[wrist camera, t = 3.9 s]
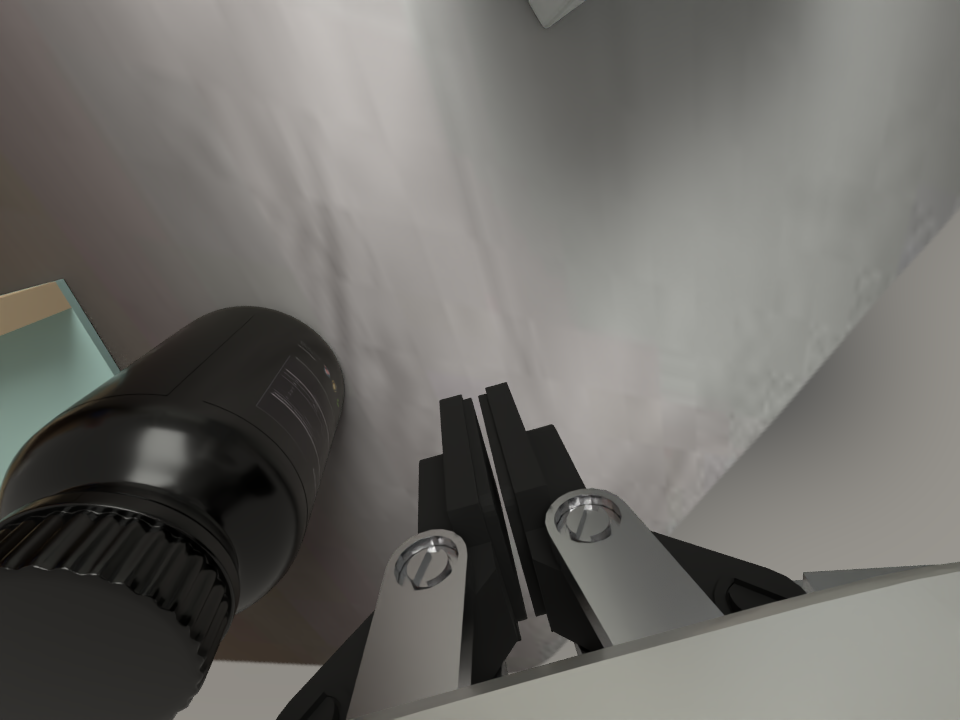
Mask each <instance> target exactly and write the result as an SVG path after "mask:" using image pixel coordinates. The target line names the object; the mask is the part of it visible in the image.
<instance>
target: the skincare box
mask: <svg viewBox="0 0 960 720" xmlns="http://www.w3.org/2000/svg"><path fill="white" fill-rule="evenodd" d="M584 1H586V0H528V2H529V4H530V6H531V7H532V9H533V11H534V13H535V14H536V16H537V18H538V19H539V21H540V23H541V25H542V26H543V27H544V28H549V27H551V26H552V25H553V24H554V23H556V22H557V21H558V20H560V19H561V18H562V17H564V16H565V15H566V14H568V13H569V12H571V11H572V10H573V9H575V8H576V7H577V6H579V5H580V4H581V3H583V2H584Z"/></svg>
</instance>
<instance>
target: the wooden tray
mask: <svg viewBox="0 0 960 720" xmlns="http://www.w3.org/2000/svg"><path fill="white" fill-rule="evenodd" d="M119 372H120V370H119V368H118V367H117V365H116V364H115V362H114V360H113V359H112V357H111V355H110V354H109V352H108V351H107V349H106V347H105V346H104V344H103V342H102V341H101V339H100V338H99V336H98V334H97V333H96V331H95V329H94V328H93V326H92V325H91V323H90V321H89V320H88V318H87V317H86V315H85V313H84V312H83V310H82V308H81V307H80V305H79V304H78V302H77V300H76V299H75V297H74V295H73V294H72V292H71V291H70V289H69V287H68V286H67V284H66V282H65V281H64V279H61V280H57V281H53V282H49V283H46V284H42V285H38V286H34V287H31V288H27V289H23V290H19V291H16V292H12V293H8V294H4V295H0V487H1V484H2V481H3V478H4V476H5V473H6V471H7V469H8V467H9V465H10V463H11V461H12V459H13V458H14V456H15V455H16V454H17V452H18V451H19V450H20V449H21V447H22V446H23V445H24V444H25V443H26V442H27V441H28V440H29V439H30V438H31V437H32V436H33V435H34V434H35V433H36V432H37V431H39V430H40V429H41V428H42V427H44V426H45V425H46V424H47V423H49V422H50V421H51V420H52V419H54V418H55V417H56V416H58V415H59V414H61V413H62V412H63V411H65V410H66V409H68V408H69V407H70V406H72V405H73V404H75V403H76V402H78V401H79V400H80V399H82V398H83V397H85V396H86V395H88V394H89V393H90V392H92V391H93V390H95V389H96V388H98V387H99V386H100V385H102V384H103V383H105V382H106V381H108V380H109V379H110V378H112V377H113V376H115V375H116V374H118V373H119Z"/></svg>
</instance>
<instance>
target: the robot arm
mask: <svg viewBox="0 0 960 720" xmlns="http://www.w3.org/2000/svg"><path fill="white" fill-rule="evenodd" d="M485 390H486V393H487V394H483V395H479V396H478V398H479V402H480V406H481V410H482V414H483V418H484V423H485V427H486V431H487V435H488V439H489V443H490V448H491V452H492V456H493V460H494V464H495V468H496V473H497V477H498V481H499V485H500V489H501V493H502V497H503V501H504V504H505V508H506V512H507V515H508V519H509V522H510V526H511V530H512V533H513V537H514V540H515V544H516V547H517V551H518V554H519V558H520V562H521V565H522V569H523V572H524V576H525V579H526V583H527V586H528V590H529V593H530V597H531V601H532V604H533V608H534V611H535V615H536V616H540V615H543V614H547V617H548V620H549V624H550V627H551V631H552V632H553V631H554V632H556V633H557V634H559V635H561V636H563V637H565V638H567V639H569V640H571V641H573V642H574V644H575V647H576V651H577V654H578V656H575V657H571V658H567V659H564V660H560V661H557V662H553V663H549V664H546V665H542V666H539V667H535V668H531V669H528V670H524V671H521V672H517V673H513V674H510V675H508V671H507V665H506V661H505V659H506V657H507V656H508V654H509V653H510V651H511V650H512V648H513V647H514V645H515V644H516V642H517V641H521V636H520V632H519V627H518V621H522V620H525V619H527V614H526V610H525V606H524V601H523V597H522V593H521V588H520V584H519V580H518V575H517V571H516V567H515V562H514V558H513V554H512V549H511V545H510V541H509V536H508V532H507V528H506V524H505V519H504V515H503V511H502V506H501V502H500V498H499V494H498V490H497V486H496V483H495V479H494V476H493V472H492V469H491V465H490V462H489V458H488V455H487V451H486V447H485V444H484V440H483V437H482V433H481V430H480V426H479V423H478V419H477V416H476V412H475V409H474V405H473V402H472V399H471V398H468V399H465V400H463V398H462V395H457V396H453V397H450V398H446V399H442V400H440V401H439V402H440V417H441V432H442V446H443V454H441V455H437V456H434V457H430V458H426V459H423V460H420V461H419V500H418V534H417V535H415V536H413V537H411V538H409V539H408V540H407V541H405V542H404V543H403V544H402V545H400V546H399V547H398V548H397V550H396V551H395V552H394V553H393V555H392V556H391V558H390V560H389V562H388V564H387V567H386V570H385V574H384V578H383V581H382V585H381V589H380V593H379V597H378V600H377V604H376V608H375V610H374V612H373V613H372V614H371V615H370V616H369V617H368V618H367V619H366V620H365V621H364V622H363V623H362V624H361V625H360V627H359V628H358V629H357V630H356V631H355V632H354V633H353V634H352V635H351V636H350V637H349V638H348V639H347V640H346V641H345V643H344V644H343V645H342V646H341V647H340V648H339V649H338V650H337V651H336V652H335V653H334V654H333V655H332V656H331V658H330V659H329V660H328V661H327V662H326V663H325V664H324V665H323V666H322V667H321V668H320V669H319V670H318V672H317V673H316V674H315V675H314V676H313V677H312V678H311V679H310V680H309V681H308V682H307V684H305V685H304V686H303V688H302V689H301V690H300V691H299V692H298V693H297V694H296V695H295V696H294V697H293V698H292V699H291V701H290V702H289V703H288V704H287V705H286V707H285V708H284V709H283V711H282V712H281V713H280V714H279V716H278V717H277V719H276V720H960V562H955V563H948V564H941V565H920V566H903V567H887V568H870V569H853V570H835V571H818V572H804V573H803V580H796V581H792V580H791V579H789V578H788V577H786V576H784V575H782V574H780V573H777V572H775V571H773V570H770V569H768V568H765V567H762V566H759V565H756V564H753V563H749V562H746V561H743V560H740V559H737V558H734V557H731V556H727V555H724V554H721V553H718V552H715V551H711V550H709V549H706V548H702V547H699V546H696V545H693V544H690V543H687V542H684V541H681V540H677V539H674V538H671V537H668V536H665V535H662V534H659V533H656V532H652V531H650V530H649V529H648V528H647V527H646V526H645V524H644V523H643V522H642V521H641V520H640V519H639V518H638V516H637V515H636V514H635V513H634V512H633V511H632V510H631V508H630V507H629V506H628V505H627V504H626V503H625V502H624V501H623V500H622V499H621V498H619V497H618V496H617V495H615V494H613V493H610V492H608V491H606V490H600V489H594V488H590V489H586V487H585V486H584V484H583V482H582V480H581V478H580V476H579V474H578V472H577V470H576V468H575V466H574V464H573V462H572V460H571V458H570V456H569V454H568V452H567V450H566V448H565V446H564V444H563V442H562V440H561V438H560V436H559V434H558V432H557V430H556V429H555V427H554V425H552V424H551V425H548V426H544V427H540V428H537V429H533V430H529V431H525V428H524V425H523V423H522V420H521V418H520V415H519V413H518V410H517V407H516V405H515V402H514V400H513V397H512V395H511V392H510V389H509V387H508V384H507V382H505V383H501V384H498V385H494V386H490V387H487V388H485Z"/></svg>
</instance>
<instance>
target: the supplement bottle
mask: <svg viewBox="0 0 960 720" xmlns="http://www.w3.org/2000/svg"><path fill="white" fill-rule="evenodd" d="M343 400H344V381H343V376H342V372H341V369H340V366H339V363H338V361H337V359H336V357H335V355H334V353H333V352H332V350H331V349H330V347H329V346H328V345H327V343H326V342H325V341H324V340H323V339H322V338H321V337H320V336H319V335H318V334H317V333H316V332H315V331H314V330H313V329H311V328H310V327H309V326H307V325H306V324H304V323H303V322H301V321H300V320H298V319H296V318H294V317H292V316H290V315H287V314H285V313H282V312H279V311H276V310H272V309H268V308H262V307H253V306H238V307H229V308H224V309H220V310H216V311H214V312H211V313H208V314H206V315H204V316H202V317H200V318H198V319H196V320H195V321H193V322H191V323H190V324H188V325H187V326H185V327H184V328H182V329H180V330H179V331H178V332H176V333H175V334H173V335H172V336H170V337H169V338H168V339H166V340H165V341H163V342H162V343H160V344H159V345H158V346H156V347H155V348H153V349H152V350H150V351H149V352H148V353H146V354H145V355H143V356H142V357H140V358H139V359H138V360H136V361H135V362H133V363H132V364H130V365H129V366H128V367H126V368H125V369H123V370H122V371H120V372H119V373H118V374H116V375H115V376H113V377H112V378H110V379H109V380H108V381H106V382H105V383H103V384H102V385H100V386H99V387H98V388H96V389H95V390H93V391H92V392H90V393H89V394H88V395H86V396H85V397H83V398H82V399H80V400H79V401H78V402H76V403H75V404H73V405H72V406H70V407H69V408H68V409H66V410H65V411H63V412H62V413H61V414H59V415H58V416H56V417H55V418H54V419H52V420H51V421H50V422H49V423H47V424H46V425H45V426H44V427H42V428H41V429H40V430H39V431H37V432H36V433H35V434H34V435H33V436H32V437H31V438H30V439H29V440H28V441H27V442H26V443H25V444H24V445H23V446H22V447H21V449H20V450H19V451H18V452H17V454H16V455H15V456H14V458H13V459H12V461H11V463H10V465H9V467H8V469H7V471H6V473H5V476H4V478H3V481H2V484H1V487H0V720H173V718H174V717H175V716H176V714H177V712H179V711H181V710H183V709H185V708H187V707H188V705H189V703H190V702H191V700H192V699H193V697H194V696H195V695H196V694H197V693H198V692H199V690H200V688H201V687H202V685H203V683H204V681H205V678H206V676H207V673H208V671H209V669H210V666H211V664H212V661H213V659H214V656H215V654H216V652H217V649H218V647H219V644H220V642H221V641H222V639H223V638H224V637H225V635H226V633H227V632H228V630H229V628H230V625H231V623H232V620H233V618H234V615H236V614H238V613H239V612H241V611H243V610H245V609H246V608H248V607H249V606H251V605H253V604H254V603H256V602H257V601H258V600H259V599H261V598H262V597H263V596H264V595H266V594H267V593H268V592H269V591H270V590H271V589H272V588H273V587H274V586H275V585H276V584H277V583H278V582H279V581H280V580H281V579H282V578H283V576H284V575H285V574H286V573H287V571H288V570H289V568H290V566H291V565H292V563H293V562H294V560H295V558H296V556H297V553H298V551H299V549H300V546H301V543H302V541H303V538H304V535H305V532H306V528H307V525H308V522H309V519H310V515H311V512H312V509H313V505H314V502H315V499H316V495H317V492H318V489H319V485H320V482H321V478H322V475H323V472H324V468H325V465H326V462H327V458H328V455H329V452H330V448H331V445H332V442H333V438H334V435H335V432H336V428H337V425H338V422H339V418H340V414H341V410H342V406H343Z"/></svg>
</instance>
